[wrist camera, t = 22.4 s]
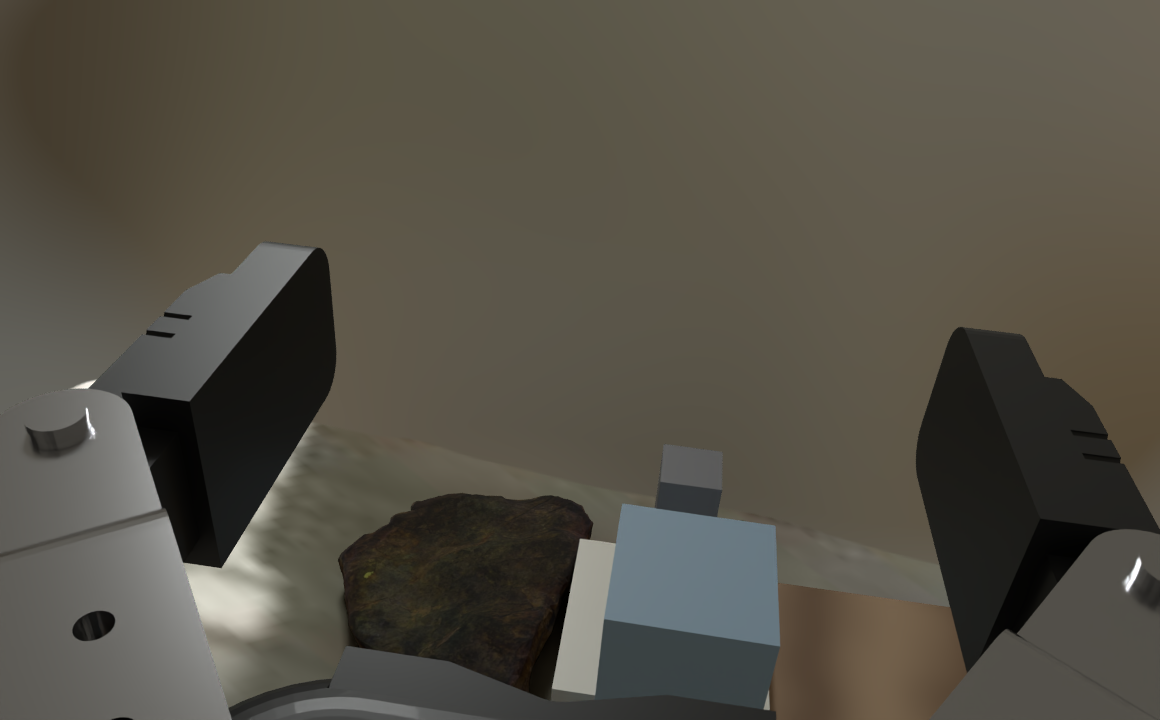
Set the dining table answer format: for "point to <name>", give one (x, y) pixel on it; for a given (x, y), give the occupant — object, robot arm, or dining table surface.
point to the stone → (466, 581)
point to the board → (862, 657)
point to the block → (690, 609)
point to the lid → (681, 487)
